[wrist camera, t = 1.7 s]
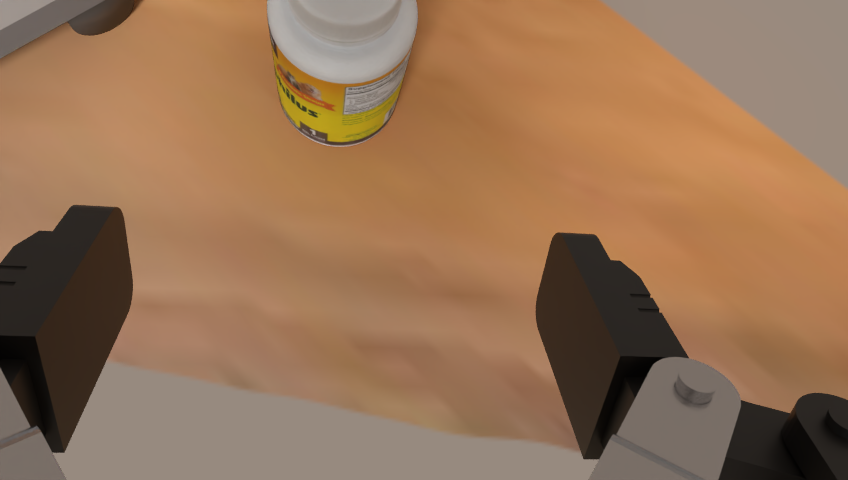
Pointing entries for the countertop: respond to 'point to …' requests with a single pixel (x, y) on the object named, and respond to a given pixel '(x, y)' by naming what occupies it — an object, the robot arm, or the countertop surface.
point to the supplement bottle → (340, 64)
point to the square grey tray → (56, 18)
